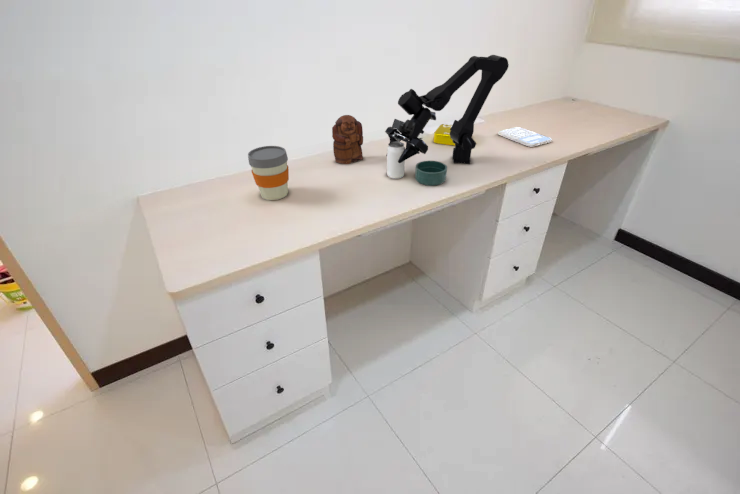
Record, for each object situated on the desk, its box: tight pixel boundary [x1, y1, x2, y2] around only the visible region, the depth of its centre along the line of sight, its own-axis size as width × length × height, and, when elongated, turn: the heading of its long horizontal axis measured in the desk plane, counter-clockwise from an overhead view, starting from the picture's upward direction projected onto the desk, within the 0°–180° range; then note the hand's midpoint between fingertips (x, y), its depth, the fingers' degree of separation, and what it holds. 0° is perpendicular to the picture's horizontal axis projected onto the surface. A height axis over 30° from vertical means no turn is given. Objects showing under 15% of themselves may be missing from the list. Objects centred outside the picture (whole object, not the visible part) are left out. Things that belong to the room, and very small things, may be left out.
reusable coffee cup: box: [247, 145, 290, 201], centre depth 125 cm, size 13×13×15 cm
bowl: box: [414, 160, 448, 187], centre depth 135 cm, size 11×11×5 cm
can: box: [386, 141, 406, 180], centre depth 136 cm, size 6×6×12 cm
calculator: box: [498, 126, 553, 148], centre depth 169 cm, size 13×20×2 cm, turn 29°
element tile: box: [433, 123, 455, 147], centre depth 168 cm, size 15×15×5 cm
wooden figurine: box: [331, 114, 364, 165], centre depth 147 cm, size 12×6×18 cm, turn 120°
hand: (392, 159), depth 135 cm, fingers closed on can, 6 cm apart
